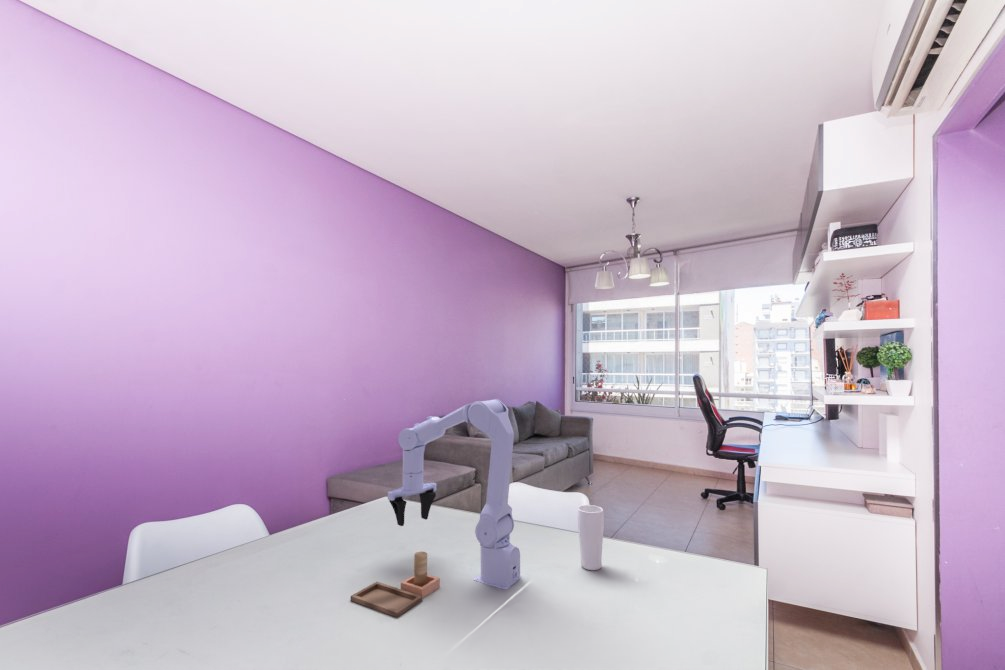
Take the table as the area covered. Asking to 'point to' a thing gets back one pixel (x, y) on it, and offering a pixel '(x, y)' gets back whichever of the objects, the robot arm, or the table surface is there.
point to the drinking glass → (591, 536)
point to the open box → (423, 591)
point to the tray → (386, 599)
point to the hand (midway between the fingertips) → (412, 521)
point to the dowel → (420, 569)
